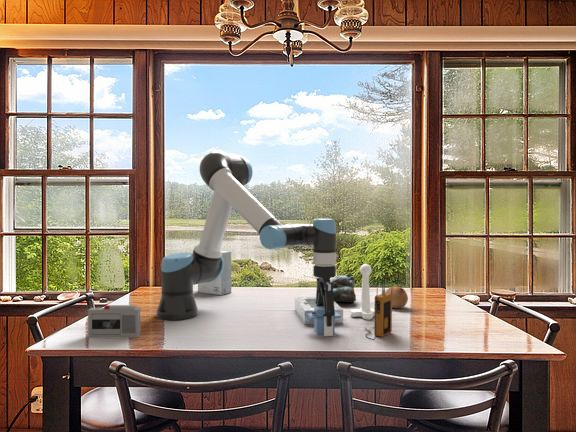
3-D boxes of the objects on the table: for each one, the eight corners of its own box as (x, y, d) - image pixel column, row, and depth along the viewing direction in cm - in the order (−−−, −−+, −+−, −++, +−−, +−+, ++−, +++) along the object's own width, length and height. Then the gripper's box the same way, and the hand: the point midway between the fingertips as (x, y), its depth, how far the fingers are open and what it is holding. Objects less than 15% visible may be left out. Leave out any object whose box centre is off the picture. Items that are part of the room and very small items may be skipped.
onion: (404, 316, 175) (413, 296, 171) (382, 310, 175) (390, 290, 171) (400, 303, 184) (409, 284, 180) (379, 297, 184) (388, 278, 180)
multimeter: (370, 325, 152) (370, 268, 151) (396, 330, 145) (397, 271, 145) (348, 334, 140) (349, 273, 140) (376, 340, 134) (376, 277, 133)
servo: (310, 334, 141) (310, 307, 140) (308, 330, 145) (308, 304, 145) (340, 333, 142) (340, 306, 142) (336, 329, 146) (337, 303, 146)
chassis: (304, 324, 152) (304, 310, 152) (294, 309, 173) (294, 297, 173) (343, 323, 154) (343, 309, 154) (328, 308, 175) (328, 296, 175)
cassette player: (88, 337, 136) (88, 306, 136) (91, 335, 139) (91, 304, 139) (137, 337, 137) (137, 306, 136) (140, 335, 139) (140, 304, 139)
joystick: (378, 314, 166) (378, 263, 166) (383, 319, 159) (384, 265, 158) (349, 314, 166) (350, 263, 165) (353, 320, 158) (354, 266, 158)
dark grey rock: (317, 303, 185) (318, 272, 192) (334, 309, 193) (334, 280, 199) (346, 297, 176) (346, 265, 183) (362, 304, 184) (361, 274, 190)
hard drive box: (232, 293, 206) (232, 251, 206) (221, 295, 200) (221, 253, 199) (207, 289, 214) (207, 249, 214) (197, 292, 208) (196, 251, 207)
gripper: (344, 269, 132) (344, 340, 133) (327, 260, 155) (327, 321, 155) (321, 270, 131) (321, 342, 132) (307, 260, 154) (307, 322, 154)
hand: (324, 330), depth 143 cm, fingers open, 10 cm apart
